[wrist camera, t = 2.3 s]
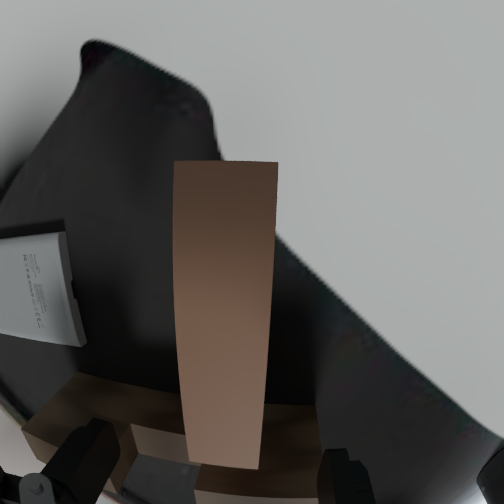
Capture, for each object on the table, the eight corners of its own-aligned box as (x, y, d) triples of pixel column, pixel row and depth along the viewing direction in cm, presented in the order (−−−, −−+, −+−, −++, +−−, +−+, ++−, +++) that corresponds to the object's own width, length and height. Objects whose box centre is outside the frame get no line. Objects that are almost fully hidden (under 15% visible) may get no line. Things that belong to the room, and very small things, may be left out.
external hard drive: (-19, 241, 20) (70, 230, 18) (-2, 325, 21) (90, 340, 20) (-32, 244, 18) (55, 233, 17) (-12, 331, 19) (79, 349, 18)
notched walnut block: (315, 405, 19) (327, 497, 11) (309, 434, 19) (316, 521, 11) (78, 371, 20) (20, 429, 12) (86, 400, 21) (37, 459, 13)
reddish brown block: (277, 176, 16) (278, 162, 8) (266, 374, 18) (258, 469, 11) (222, 174, 16) (174, 161, 9) (219, 370, 19) (189, 461, 11)
